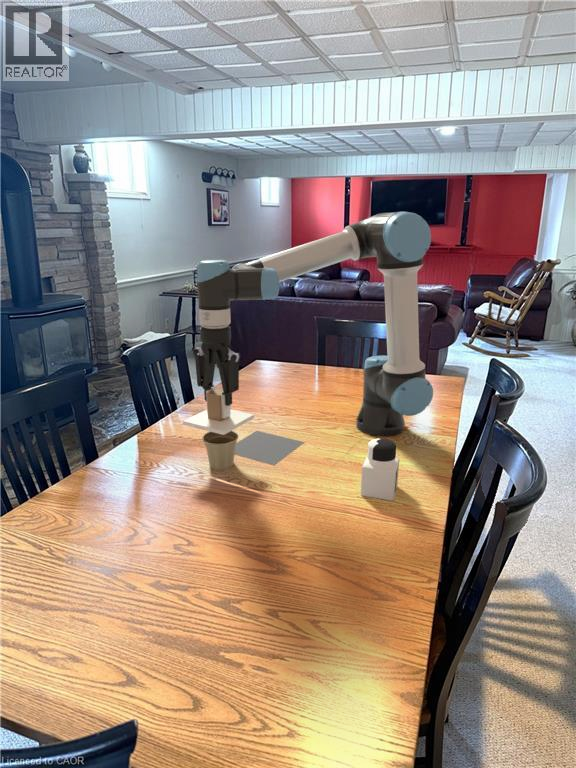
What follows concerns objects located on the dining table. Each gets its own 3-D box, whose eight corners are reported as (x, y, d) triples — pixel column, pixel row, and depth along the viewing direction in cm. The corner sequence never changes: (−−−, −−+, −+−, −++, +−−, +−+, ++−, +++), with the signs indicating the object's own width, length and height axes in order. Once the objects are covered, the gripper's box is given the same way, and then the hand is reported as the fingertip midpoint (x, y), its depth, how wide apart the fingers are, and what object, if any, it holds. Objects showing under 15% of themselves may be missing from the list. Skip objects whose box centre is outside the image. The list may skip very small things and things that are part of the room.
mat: (304, 444, 146) (304, 442, 146) (274, 467, 132) (274, 465, 132) (256, 432, 155) (256, 430, 154) (223, 453, 141) (223, 451, 140)
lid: (254, 418, 131) (253, 389, 129) (223, 435, 121) (222, 404, 118) (215, 409, 138) (214, 381, 135) (183, 424, 127) (181, 394, 125)
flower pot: (233, 476, 128) (232, 445, 125) (198, 472, 130) (196, 442, 127) (243, 459, 137) (242, 430, 134) (211, 456, 138) (209, 428, 136)
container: (397, 486, 123) (401, 437, 119) (393, 501, 116) (397, 450, 112) (366, 480, 125) (369, 433, 121) (360, 496, 118) (362, 446, 115)
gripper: (178, 324, 123) (183, 413, 130) (234, 331, 114) (237, 426, 121) (198, 319, 129) (202, 404, 136) (252, 326, 120) (254, 416, 128)
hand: (218, 414), depth 129 cm, fingers closed on lid, 4 cm apart
